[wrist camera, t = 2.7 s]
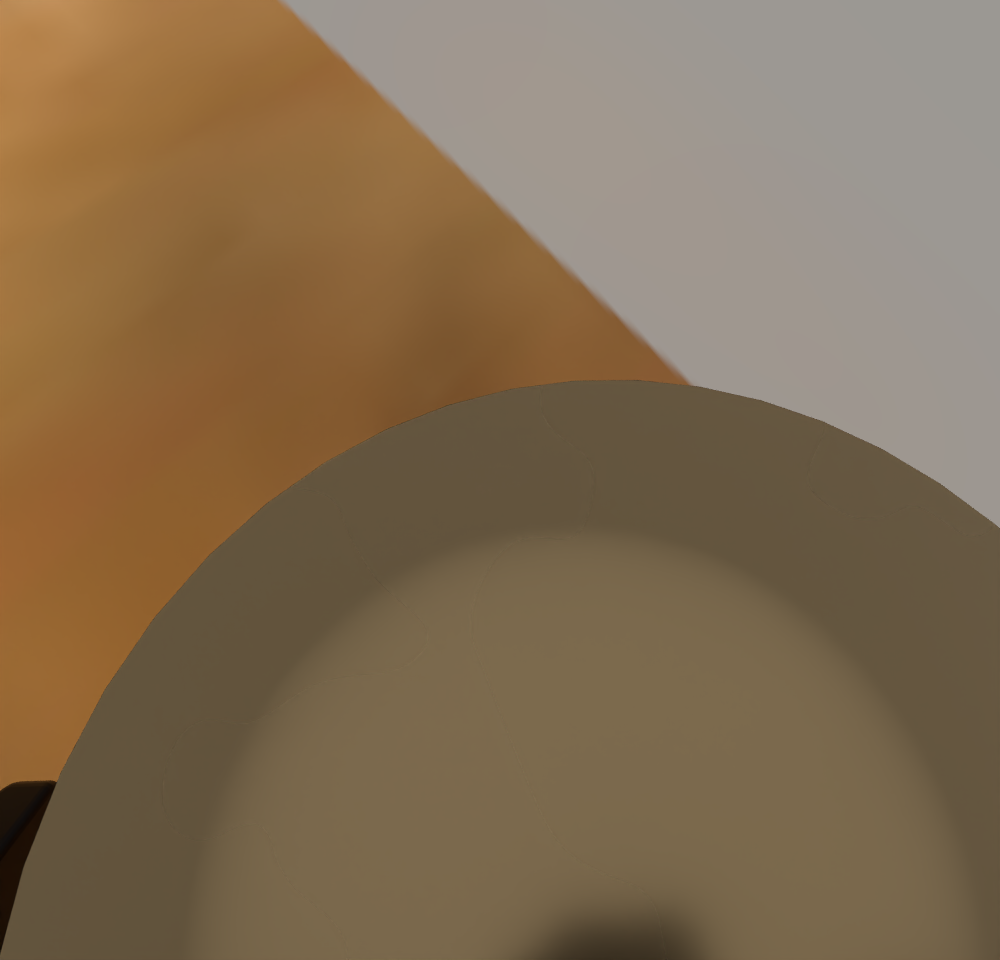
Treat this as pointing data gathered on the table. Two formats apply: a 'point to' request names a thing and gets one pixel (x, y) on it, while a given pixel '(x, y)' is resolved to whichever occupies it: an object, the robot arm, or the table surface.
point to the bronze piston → (554, 706)
